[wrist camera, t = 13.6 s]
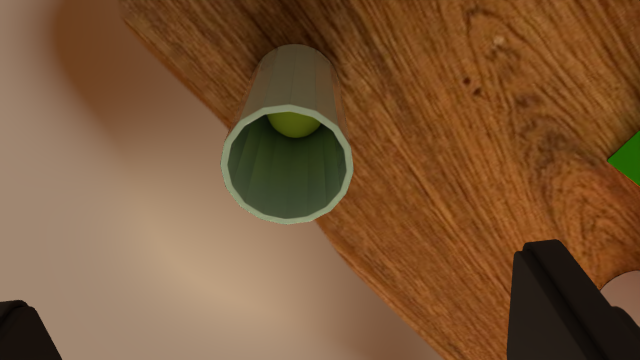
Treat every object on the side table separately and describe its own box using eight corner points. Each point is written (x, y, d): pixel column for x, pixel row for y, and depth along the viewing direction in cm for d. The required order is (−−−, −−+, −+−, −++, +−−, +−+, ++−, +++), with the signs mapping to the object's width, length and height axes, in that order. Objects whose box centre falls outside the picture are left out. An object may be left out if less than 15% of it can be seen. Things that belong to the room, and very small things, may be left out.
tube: (244, 50, 30) (207, 115, 20) (333, 38, 30) (345, 96, 19) (260, 133, 33) (236, 230, 22) (343, 122, 33) (358, 215, 22)
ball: (261, 71, 30) (259, 104, 27) (320, 63, 30) (323, 96, 27) (272, 118, 32) (271, 153, 30) (326, 111, 32) (330, 145, 30)
